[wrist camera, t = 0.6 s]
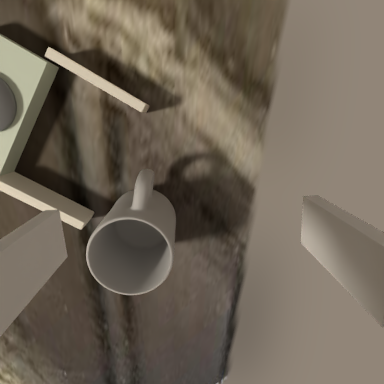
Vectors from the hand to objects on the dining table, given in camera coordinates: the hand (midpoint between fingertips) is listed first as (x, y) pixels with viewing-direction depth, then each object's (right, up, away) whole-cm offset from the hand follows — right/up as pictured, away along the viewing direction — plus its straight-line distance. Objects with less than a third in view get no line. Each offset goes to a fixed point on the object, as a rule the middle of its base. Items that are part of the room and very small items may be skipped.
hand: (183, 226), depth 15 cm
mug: (-6, 0, +22) cm, 23 cm away
